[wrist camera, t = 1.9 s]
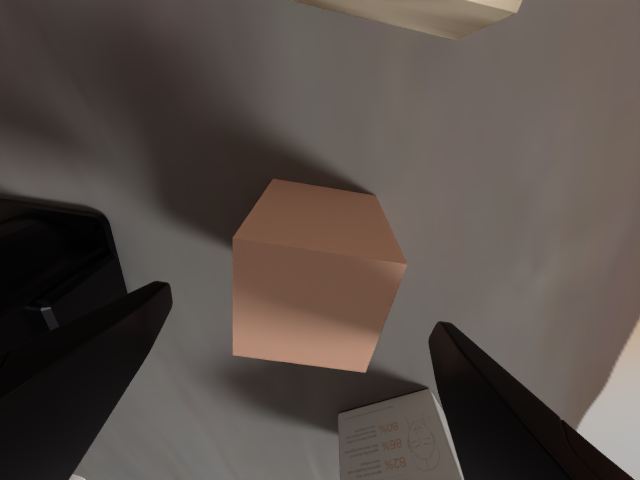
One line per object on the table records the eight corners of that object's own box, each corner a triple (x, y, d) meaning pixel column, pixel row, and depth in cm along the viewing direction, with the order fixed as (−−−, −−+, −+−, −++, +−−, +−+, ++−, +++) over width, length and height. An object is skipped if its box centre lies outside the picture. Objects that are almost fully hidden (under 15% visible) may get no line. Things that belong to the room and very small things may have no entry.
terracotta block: (266, 264, 15) (233, 355, 10) (273, 178, 13) (232, 237, 7) (353, 276, 15) (365, 372, 10) (375, 195, 13) (407, 264, 8)
